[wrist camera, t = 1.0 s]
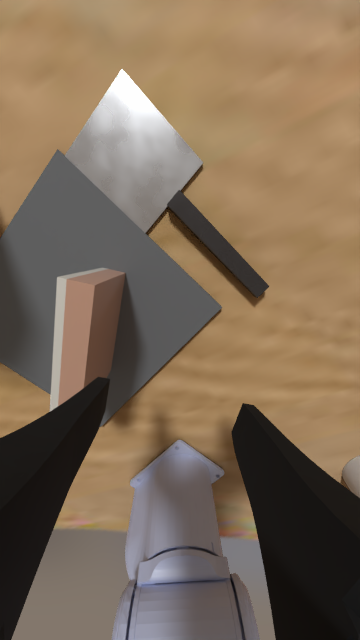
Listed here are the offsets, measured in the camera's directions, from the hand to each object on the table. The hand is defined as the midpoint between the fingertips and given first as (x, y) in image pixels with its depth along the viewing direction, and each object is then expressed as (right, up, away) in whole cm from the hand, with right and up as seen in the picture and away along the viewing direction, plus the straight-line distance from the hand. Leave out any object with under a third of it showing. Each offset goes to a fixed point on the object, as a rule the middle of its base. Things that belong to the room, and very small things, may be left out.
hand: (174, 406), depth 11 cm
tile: (-7, +4, +9) cm, 12 cm away
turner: (+1, +14, +7) cm, 15 cm away
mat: (-9, +5, +9) cm, 14 cm away
